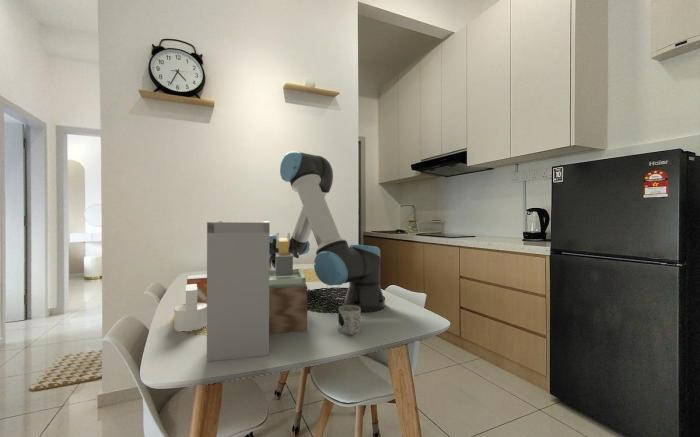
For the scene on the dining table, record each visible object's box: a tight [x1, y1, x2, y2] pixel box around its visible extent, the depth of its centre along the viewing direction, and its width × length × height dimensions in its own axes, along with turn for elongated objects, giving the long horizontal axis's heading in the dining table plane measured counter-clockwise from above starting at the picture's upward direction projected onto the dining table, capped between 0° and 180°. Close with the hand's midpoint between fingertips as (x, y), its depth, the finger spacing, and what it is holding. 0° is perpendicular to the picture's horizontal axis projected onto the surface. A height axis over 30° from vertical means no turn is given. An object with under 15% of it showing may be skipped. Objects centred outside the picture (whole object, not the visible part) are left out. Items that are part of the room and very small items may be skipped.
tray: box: [269, 268, 307, 288], centre depth 98 cm, size 12×16×2 cm
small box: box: [186, 273, 207, 304], centre depth 105 cm, size 8×6×13 cm
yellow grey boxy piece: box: [275, 237, 294, 276], centre depth 103 cm, size 5×19×10 cm, turn 15°
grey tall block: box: [206, 220, 271, 363], centre depth 79 cm, size 14×12×32 cm
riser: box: [269, 284, 308, 335], centre depth 98 cm, size 13×17×13 cm
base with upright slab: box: [173, 284, 207, 333], centre depth 94 cm, size 9×9×12 cm
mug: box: [337, 304, 362, 335], centre depth 90 cm, size 10×7×7 cm
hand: (283, 236), depth 103 cm, fingers closed on yellow grey boxy piece, 3 cm apart
